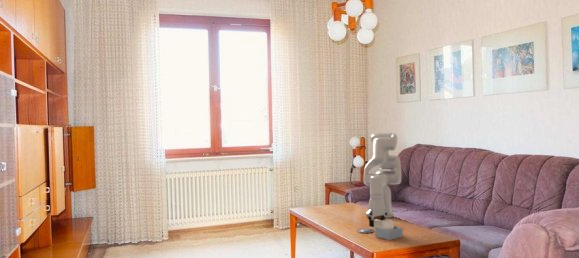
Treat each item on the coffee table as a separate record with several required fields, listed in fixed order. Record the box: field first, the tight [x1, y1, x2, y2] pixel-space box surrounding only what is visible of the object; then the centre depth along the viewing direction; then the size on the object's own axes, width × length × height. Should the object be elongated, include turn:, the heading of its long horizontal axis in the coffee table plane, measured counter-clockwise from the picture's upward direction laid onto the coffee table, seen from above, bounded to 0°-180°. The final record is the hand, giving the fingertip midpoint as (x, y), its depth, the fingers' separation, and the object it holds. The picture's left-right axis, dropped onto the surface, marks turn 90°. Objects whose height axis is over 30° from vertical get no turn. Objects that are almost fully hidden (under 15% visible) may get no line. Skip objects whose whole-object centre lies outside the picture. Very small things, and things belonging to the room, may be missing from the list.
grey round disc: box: [356, 227, 375, 234], centre depth 262 cm, size 10×10×1 cm
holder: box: [374, 225, 404, 241], centre depth 250 cm, size 11×10×5 cm
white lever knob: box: [373, 218, 395, 230], centre depth 253 cm, size 13×6×9 cm, turn 35°
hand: (377, 225), depth 257 cm, fingers open, 9 cm apart
